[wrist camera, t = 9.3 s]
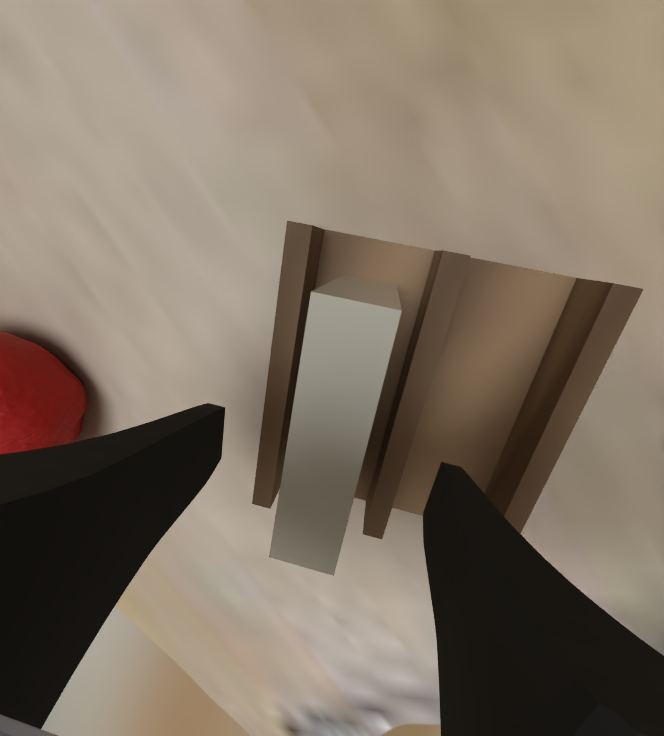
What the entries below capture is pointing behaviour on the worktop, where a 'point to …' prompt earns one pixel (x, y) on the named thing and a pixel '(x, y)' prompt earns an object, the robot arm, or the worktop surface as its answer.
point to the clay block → (332, 416)
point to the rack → (450, 369)
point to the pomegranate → (36, 398)
